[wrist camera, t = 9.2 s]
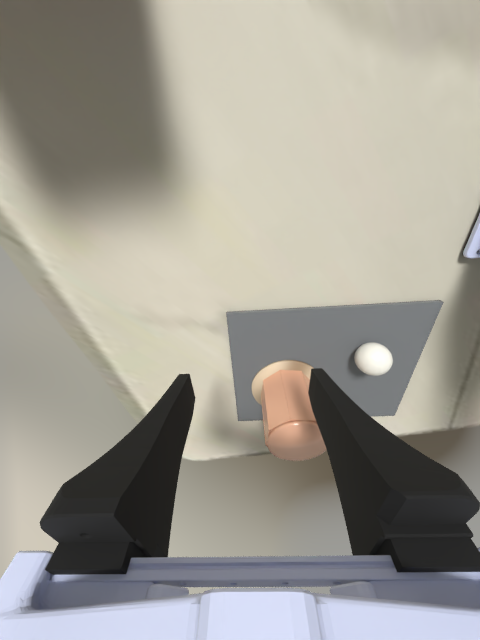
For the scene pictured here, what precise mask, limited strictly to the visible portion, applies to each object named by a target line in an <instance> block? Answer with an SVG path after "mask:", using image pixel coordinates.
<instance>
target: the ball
mask: <svg viewBox="0 0 480 640" xmlns="http://www.w3.org/2000/svg"><path fill="white" fill-rule="evenodd" d="M354 359H355V363H356V365H357V367H358V368H359V369H360V370H361V371H362V372H364V373H366V374H368V375H373V376H378V375H382V374H385V373H386V372H388V371H389V369H390V368H391V366H392V363H393V358H392V355H391V353H390V351H389V350H388V349H387V348H386V347H385V346H383V345H381V344H379V343H374V342H370V343H365V344H363V345H361V346H360V347H359V348H358V349H357V350H356V352H355V357H354Z"/></svg>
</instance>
